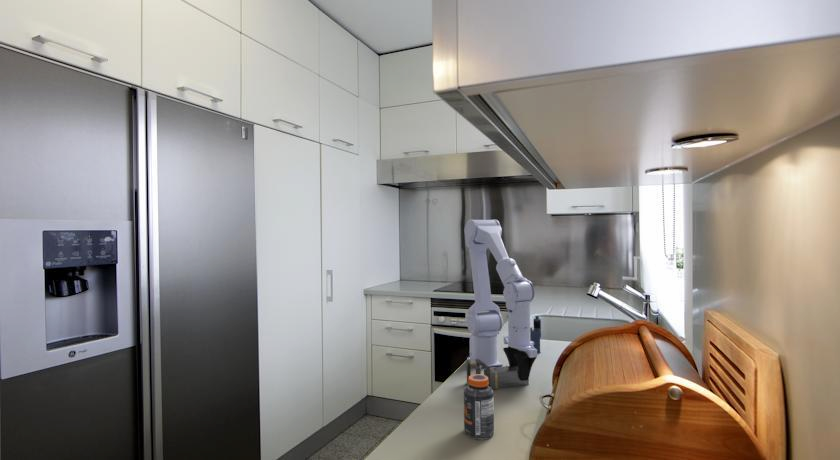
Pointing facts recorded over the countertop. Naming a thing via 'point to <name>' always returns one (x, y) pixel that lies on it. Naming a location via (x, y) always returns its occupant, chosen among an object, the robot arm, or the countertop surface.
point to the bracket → (478, 363)
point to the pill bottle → (478, 408)
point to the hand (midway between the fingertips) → (519, 377)
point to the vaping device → (536, 333)
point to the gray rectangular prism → (505, 377)
